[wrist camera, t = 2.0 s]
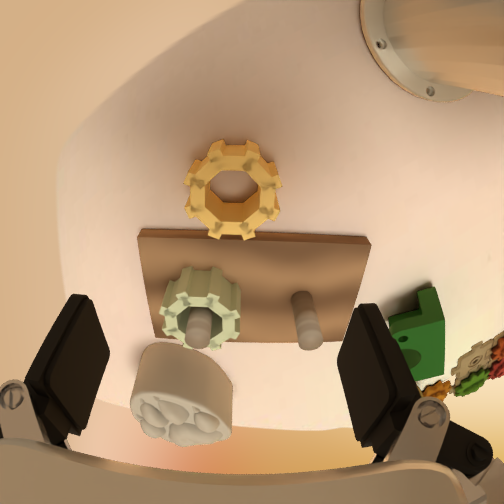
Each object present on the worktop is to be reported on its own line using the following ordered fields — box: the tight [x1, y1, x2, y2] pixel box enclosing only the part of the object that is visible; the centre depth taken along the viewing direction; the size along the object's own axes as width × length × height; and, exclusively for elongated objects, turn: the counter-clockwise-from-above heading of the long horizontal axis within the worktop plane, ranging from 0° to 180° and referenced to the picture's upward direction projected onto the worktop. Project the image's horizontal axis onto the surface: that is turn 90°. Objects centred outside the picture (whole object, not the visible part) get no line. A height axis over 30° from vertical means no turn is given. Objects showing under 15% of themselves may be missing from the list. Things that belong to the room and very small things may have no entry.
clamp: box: [388, 287, 445, 381], centre depth 31 cm, size 12×6×9 cm, turn 20°
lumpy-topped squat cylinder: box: [130, 342, 233, 447], centre depth 33 cm, size 10×13×9 cm
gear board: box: [137, 229, 371, 350], centre depth 27 cm, size 12×20×7 cm, turn 87°
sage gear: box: [159, 266, 241, 351], centre depth 27 cm, size 7×7×4 cm
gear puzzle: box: [422, 331, 504, 402], centre depth 39 cm, size 31×16×4 cm, turn 116°
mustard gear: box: [183, 139, 282, 240], centre depth 23 cm, size 7×7×4 cm
